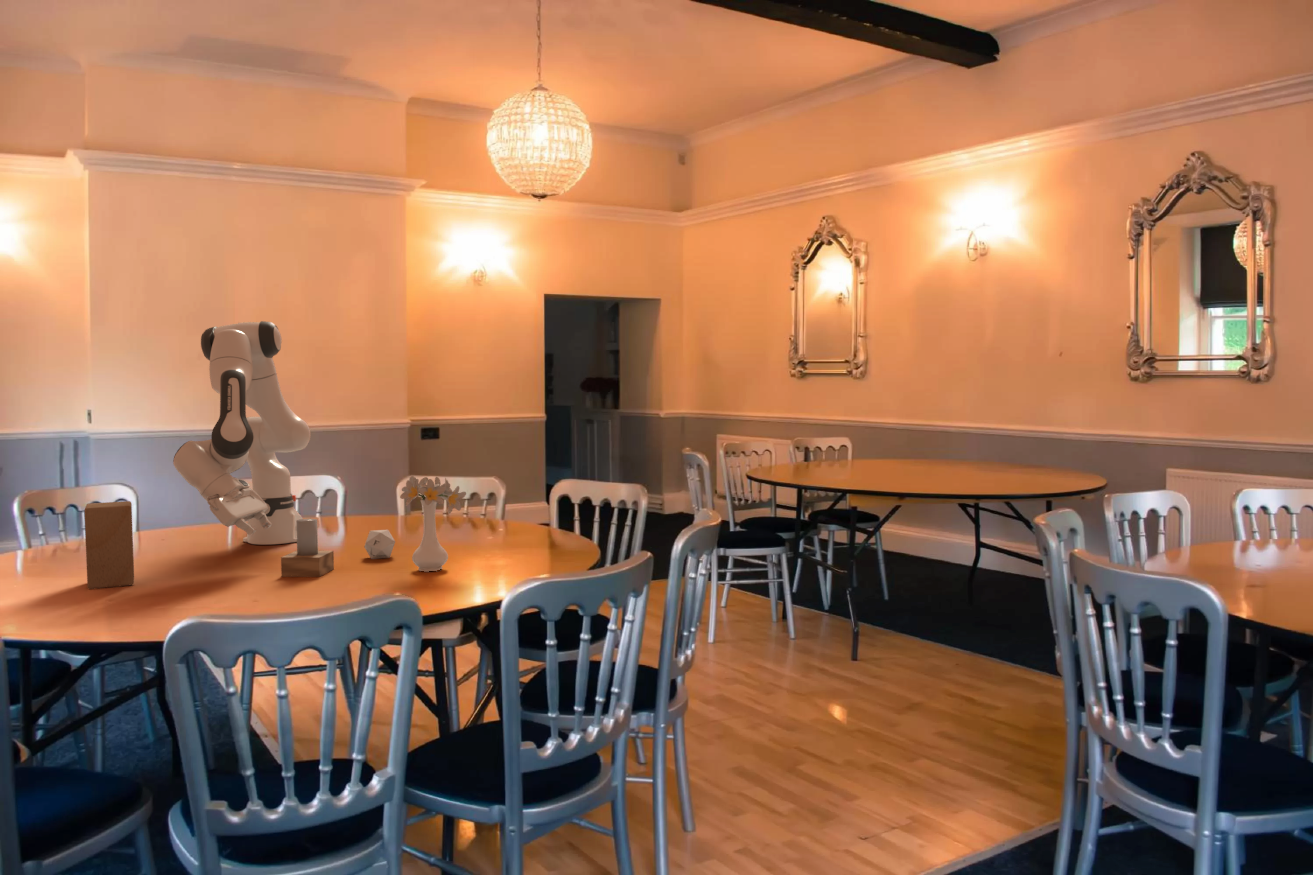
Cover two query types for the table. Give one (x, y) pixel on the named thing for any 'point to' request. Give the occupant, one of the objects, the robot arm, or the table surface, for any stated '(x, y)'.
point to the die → (379, 544)
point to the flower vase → (431, 518)
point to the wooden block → (109, 544)
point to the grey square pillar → (307, 537)
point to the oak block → (307, 564)
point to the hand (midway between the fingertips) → (261, 529)
